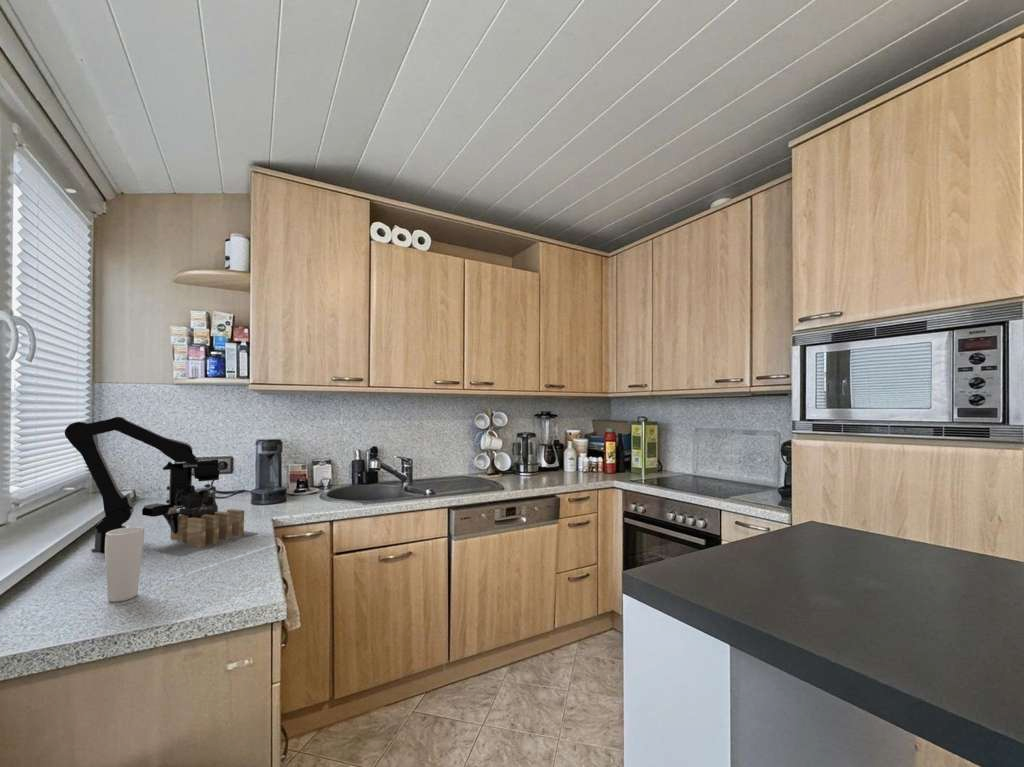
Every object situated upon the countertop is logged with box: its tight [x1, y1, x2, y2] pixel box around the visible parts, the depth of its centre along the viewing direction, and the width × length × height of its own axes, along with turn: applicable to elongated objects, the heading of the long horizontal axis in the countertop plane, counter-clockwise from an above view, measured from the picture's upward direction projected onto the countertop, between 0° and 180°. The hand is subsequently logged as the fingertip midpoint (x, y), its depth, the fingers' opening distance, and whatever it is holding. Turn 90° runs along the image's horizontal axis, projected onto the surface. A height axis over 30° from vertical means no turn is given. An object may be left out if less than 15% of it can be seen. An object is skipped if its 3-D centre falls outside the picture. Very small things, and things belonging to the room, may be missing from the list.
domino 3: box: [200, 514, 219, 544], centre depth 146 cm, size 2×6×8 cm, turn 66°
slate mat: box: [154, 530, 260, 558], centre depth 146 cm, size 25×12×1 cm, turn 156°
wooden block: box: [215, 510, 232, 540], centre depth 150 cm, size 2×6×8 cm, turn 66°
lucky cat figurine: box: [177, 483, 219, 518], centre depth 177 cm, size 15×12×14 cm
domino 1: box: [170, 514, 189, 543], centre depth 148 cm, size 2×6×8 cm, turn 66°
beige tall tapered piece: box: [104, 526, 145, 603], centre depth 106 cm, size 7×7×15 cm
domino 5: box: [226, 508, 245, 536], centre depth 154 cm, size 2×6×8 cm, turn 66°
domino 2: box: [186, 517, 206, 548], centre depth 142 cm, size 2×6×8 cm, turn 66°
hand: (179, 532), depth 148 cm, fingers open, 2 cm apart
